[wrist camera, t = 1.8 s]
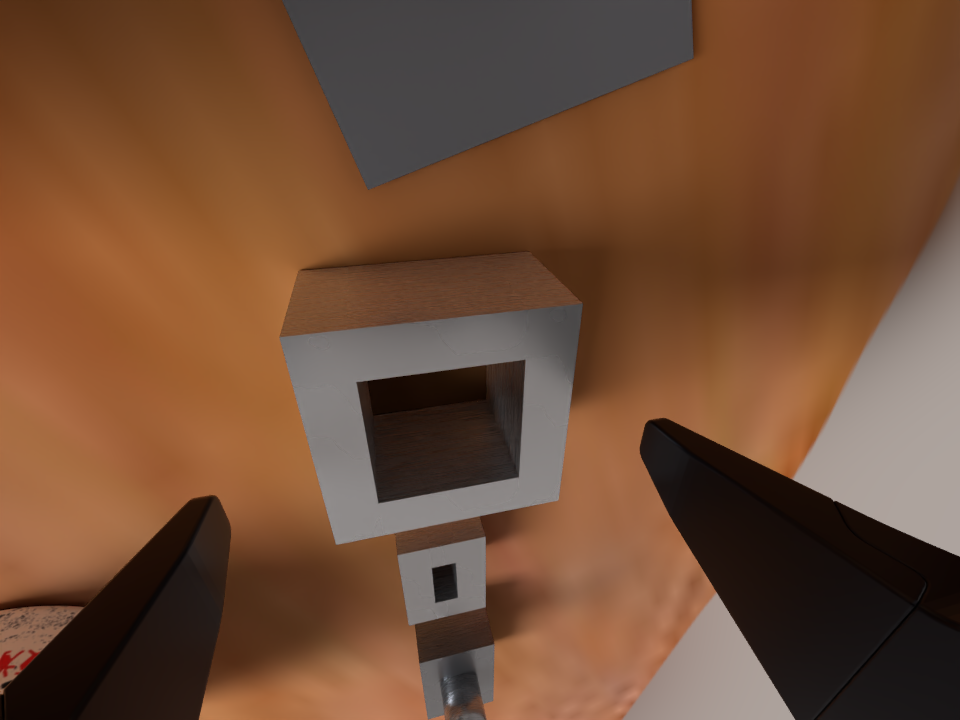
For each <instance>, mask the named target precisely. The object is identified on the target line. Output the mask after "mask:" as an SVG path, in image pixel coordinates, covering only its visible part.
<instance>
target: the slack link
mask: <svg viewBox="0 0 960 720" xmlns="http://www.w3.org/2000/svg"><path fill="white" fill-rule="evenodd" d="M395 535H396V545H397V556H398V562H399V568H400V574H401V580H402V586H403V592H404V599H405V605H406V611H407V617H408V623H409V626H410V625H414V624H418V623H422V622H426V621H430V620H435V619H439V618H443V617H447V616H451V615H455V614H459V613H464V612H468V611H472V610H476V609H480V608H484V607H486V536H485V533H484V529H483V526H482V522H481V519H480V516H478V517H473V518H468V519H463V520H458V521H453V522H448V523H443V524H438V525H433V526H428V527H423V528H418V529H413V530H408V531H403V532H398V533H395Z"/></svg>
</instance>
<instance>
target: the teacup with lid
mask: <svg viewBox="0 0 960 720" xmlns="http://www.w3.org/2000/svg"><path fill="white" fill-rule="evenodd" d="M83 608H84V607H78V606H34V607H23V608H14V609H8V610H1V611H0V694H3V690H4V688H5V687H6V686H7V685H8V684H9V683H10V682H11V681H12V680H13V679H14V678H15V677H16V676H17V675H18V674H19V673H20V672H21V671H22V670H23V669H24V668H25V667H26V666H27V665H28V664H29V663H30V662H31V661H32V660H33V659H34V658H35V657H36V656H37V655H38V654H39V653H40V652H41V651H42V650H43V649H44V647H45V646H46V645H47V644H48V643H49V642H50V641H51V640H52V639H53V638H54V637H55V636H56V635H57V634H58V633H59V632H60V631H61V630H62V629H63V628H64V627H65V626H66V625H67V624H68V623H69V622H70V621H71V620H72V619H73V618H74V617H75V616H76V615H77V614H78V613H79V612H80V611H81V610H82V609H83Z"/></svg>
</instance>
